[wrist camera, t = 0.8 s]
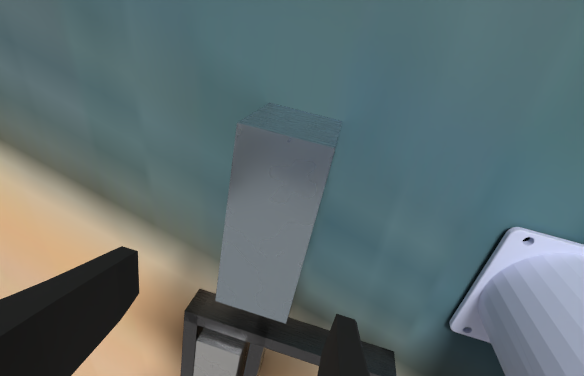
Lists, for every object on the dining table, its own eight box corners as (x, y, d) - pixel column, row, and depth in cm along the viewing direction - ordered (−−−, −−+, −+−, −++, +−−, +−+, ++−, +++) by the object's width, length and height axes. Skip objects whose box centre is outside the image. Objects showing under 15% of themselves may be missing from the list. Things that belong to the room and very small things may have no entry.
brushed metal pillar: (342, 120, 16) (335, 148, 12) (302, 264, 21) (285, 323, 16) (270, 102, 17) (237, 122, 12) (246, 247, 21) (215, 300, 17)
